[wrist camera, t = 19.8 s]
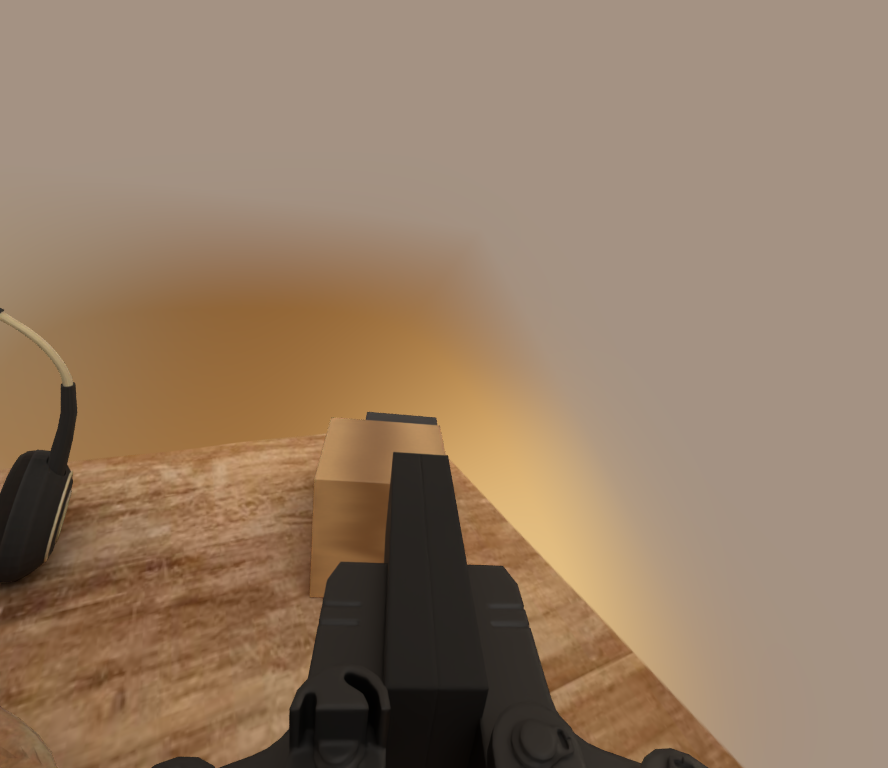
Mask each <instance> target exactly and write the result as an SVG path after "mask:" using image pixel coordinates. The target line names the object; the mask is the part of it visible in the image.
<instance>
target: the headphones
mask: <svg viewBox="0 0 888 768" xmlns="http://www.w3.org/2000/svg"><path fill="white" fill-rule="evenodd" d="M3 311H4V310H3V309H1V308H0V320H1V321H3V322H4V323H6V324H8V325H10V326H12V327H13V328H15V329H16V330H18V331H20V332H21V333H23V334H24V335H25V336H27V337H28V338H30V339H31V340H32V341H33V342H34V343H36V344H37V345H38V346H39V347H40V348H41V349H42V350H43V351H44V352H45V353H46V354H47V355H48V357H49V358H50V359H51V360H52V361H53V363H54V364H55V366H56V367H57V369H58V371H59V373H60V375H61V379H62V384H61V414H60V419H59V424H58V429H57V432H56V436H55V439H54V442H53V445H52V448H51V451H45V450H36V451H28V452H26V453H24V454H22V455H20V456H19V457H18V459H17V460H16V462H15V463H14V465H13V467H12V468H11V470H10V472H9V474H8V476H7V478H6V481H5V483H4V485H3V488H2V490H1V493H0V582H13V581H17V580H19V579H21V578H23V577H24V576H26V575H28V574H29V573H31V572H32V571H34V570H35V569H36V568H37V567H39V566H40V565H41V564H42V563H44V562H46V561H47V560H48V557H49V555H50V554H51V553H52V551H53V548H54V545H55V542H57V540H58V537H59V534H60V531H61V528H62V524H63V521H64V518H65V514H66V511H67V507H68V504H69V500H70V497H71V493H72V490H71V488H72V484H73V479H72V476H73V471H70V469H69V467H68V465H67V462H68V458H69V453H70V449H71V445H72V441H73V435H74V428H75V422H76V416H77V401H76V387H75V383H74V382H73V380H72V377H71V375H70V372H69V370H68V368H67V367H66V365H65V363H64V362H63V360H62V359H61V357H60V356H59V355H58V353H57V352H56V351H55V350H54V349H53V348H52V347H51V346H50V345H49V344H48V343H47V342H46V341H45V340H44V339H43V338H42V337H40V336H39V335H38V334H36V333H35V332H34V331H33V330H31V329H30V328H28V327H27V326H25V325H24V324H22V323H21V322H19V321H17V320H16V319H14V318H13V317H11V316H9V315H8V314H6V313H5V312H3Z"/></svg>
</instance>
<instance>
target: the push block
mask: <svg viewBox="0 0 888 768" xmlns="http://www.w3.org/2000/svg"><path fill="white" fill-rule="evenodd" d="M393 452H403V453H418V454H433V455H446V454H445V449H444V444H443V439H442V434H441V429H440V426H438V425H426V424H413V423H400V422H386V421H373V420H360V419H347V418H334V417H333V418H331V420H330V424H329V427H328V431H327V434H326V438H325V442H324V445H323V449H322V452H321V456H320V460H319V463H318V467H317V470H316V474H315V478H314V493H313V519H312V544H311V570H310V595H309V596H310V597H324V593H325V588H326V582H327V579H328V578H329V576H330V575H331V574H332V572H333V571H334V570H335V568H336V567H337V566H338V564H339V563H340V562H367V563H384V551H385V532H386V521H387V511H388V500H389V490H390V480H391V469H392V459H393Z"/></svg>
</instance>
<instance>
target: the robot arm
mask: <svg viewBox="0 0 888 768" xmlns="http://www.w3.org/2000/svg"><path fill="white" fill-rule="evenodd" d="M152 768H215V767H214V766H213V765H211V764H209V763H208V762H206V761H204V760H202V759H201V758H199V757H176V758H173V759H170V760H168V761H165V762H162V763H159V764H156V765H154V766H153V767H152ZM220 768H708V767H706V766H705V765H703V764H702V763H701V762H699V761H698V760H696V759H695V758H693V757H692V756H690V755H689V754H686V753H683V752H680V751H677V750H674V749H672V748H668V749H655V750H654V751H652V752H651V753H650V754H648V755H647V756H646V757H644V759H643V761H642V764H641V763H638V762H636V761H633V760H630V759H627V758H624V757H621V756H619V755H616V754H613V753H610V752H607V751H604V750H602V749H599V748H597V747H595V746H593V745H591V744H589V743H587V742H586V741H584V740H583V739H582V738H580V737H579V736H578V735H576V734H575V733H574V732H573V731H572V729H571V727H570V726H569V725H568V724H567V723H566V722H565V721H564V720H563V719H562V717H561V716H560V715H559V714H558V712H557V711H556V709H555V706H554V704H553V701H552V699H551V696H550V693H549V689H548V686H547V683H546V679H545V676H544V672H543V669H542V666H541V662H540V659H539V656H538V652H537V649H536V645H535V642H534V639H533V635H532V632H531V628H529V622H528V618H527V615H526V612H525V610H524V605H523V601H522V598H521V595H520V591H519V588H518V585H517V583H516V582H515V581H514V579H513V578H512V577H511V576H510V574H509V573H508V572H507V570H506V569H505V568H504V567H503V566H491V565H467V562H466V556H465V550H464V544H463V539H462V533H461V527H460V522H459V516H458V510H457V505H456V499H455V493H454V487H453V482H452V476H451V470H450V465H449V459H448V455H433V454H418V453H403V452H393V459H392V469H391V480H390V490H389V500H388V511H387V521H386V532H385V551H384V563H367V562H340V563H339V564H338V566H337V567H336V568H335V570H334V571H333V572H332V574H331V575H330V576H329V578H328V579H327V582H326V588H325V593H324V598H323V604H322V608H321V613H320V619H319V625H318V629H317V634H316V639H315V644H314V650H313V655H312V660H311V665H310V670H309V675H308V679H307V680H306V681H305V682H304V683H303V685H302V686H301V687H300V688H299V689H298V690H297V692H296V695H295V697H294V700H293V702H292V704H291V707H290V715H289V730H288V731H287V732H286V733H285V734H284V735H283V736H282V737H281V738H280V739H279V740H278V741H276V742H275V743H274V744H272V745H271V746H270V747H268V748H267V749H265V750H263V751H261V752H259V753H257V754H255V755H253V756H250V757H247V758H245V759H242V760H239V761H236V762H234V763H231V764H228V765H225V766H223V767H220Z"/></svg>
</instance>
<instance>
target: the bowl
mask: <svg viewBox="0 0 888 768" xmlns="http://www.w3.org/2000/svg"><path fill="white" fill-rule="evenodd" d="M0 768H57V766H56V764H55V761H54V758H53V755H52V753H51V751H50V749H49V748H48V747H47V746H46V744H45V743H44V742H43V740H42V739H41V738H40V736H39V735H38V734H37V733H36V732H35V731H34V730H32V729H31V728H30V727H29V726H28V725H27V724H25V723H24V722H23V721H22V720H21V719H20V718H18V717H17V716H15V715H13V714H12V713H10V712H9V711H7V710H5V709H4V708H2V707H1V706H0Z"/></svg>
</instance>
